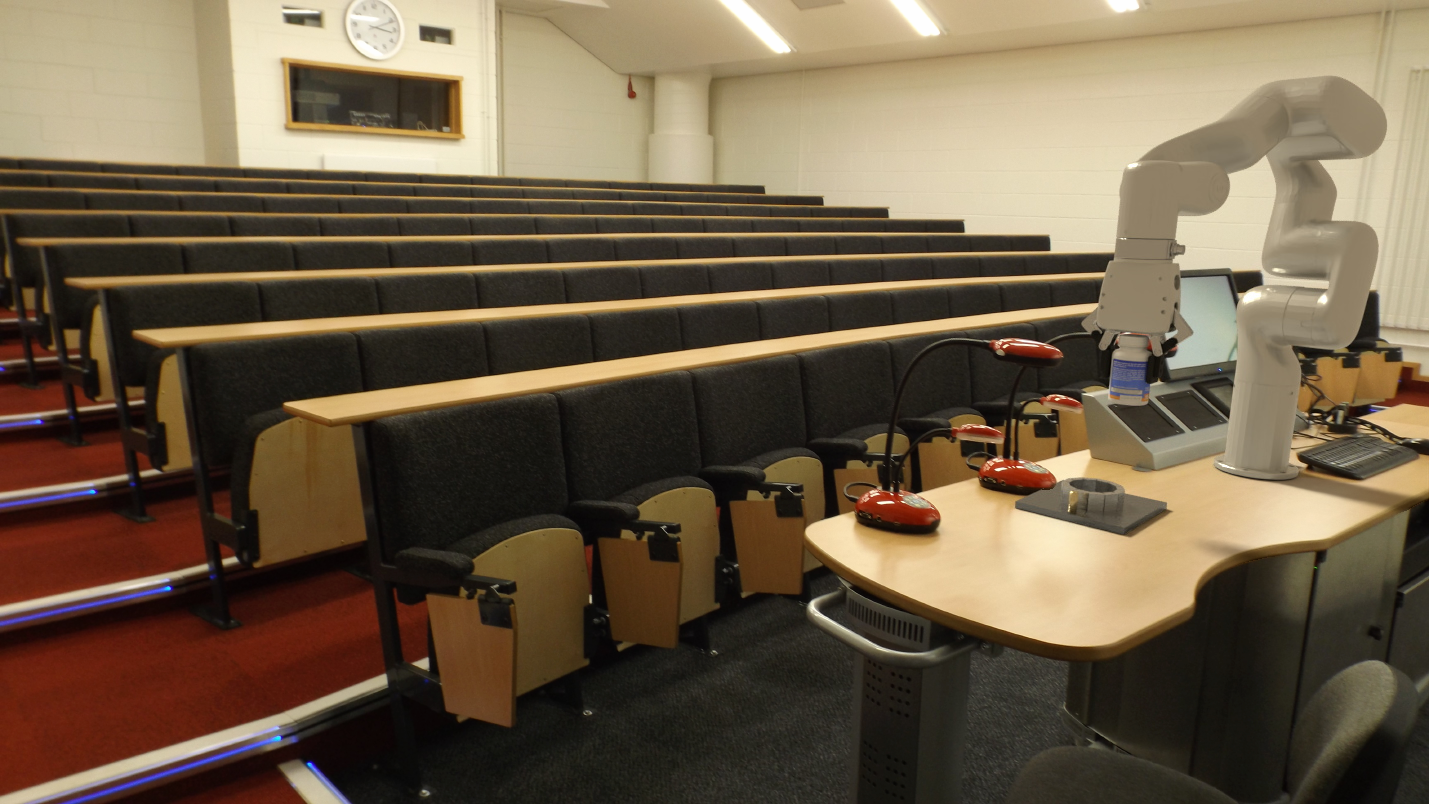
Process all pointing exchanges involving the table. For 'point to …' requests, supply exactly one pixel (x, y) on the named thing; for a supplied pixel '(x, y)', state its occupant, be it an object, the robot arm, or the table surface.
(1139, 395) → the pill bottle
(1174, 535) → the table surface
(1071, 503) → the flange base
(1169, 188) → the robot arm
